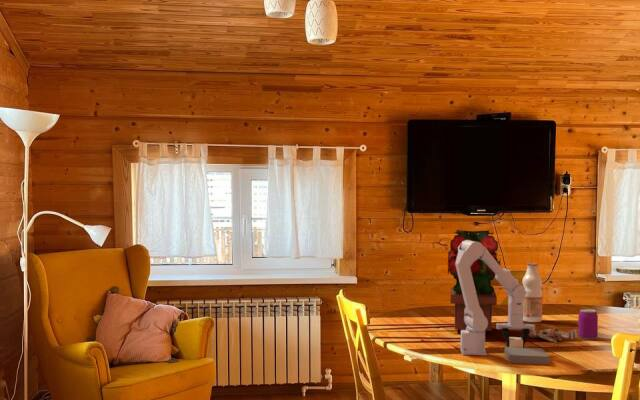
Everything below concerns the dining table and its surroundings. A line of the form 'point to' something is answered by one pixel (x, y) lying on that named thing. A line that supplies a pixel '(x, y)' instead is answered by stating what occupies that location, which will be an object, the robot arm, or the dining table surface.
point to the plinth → (526, 355)
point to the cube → (515, 342)
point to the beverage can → (588, 324)
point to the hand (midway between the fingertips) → (515, 347)
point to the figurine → (552, 334)
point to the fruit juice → (532, 294)
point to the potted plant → (474, 276)
